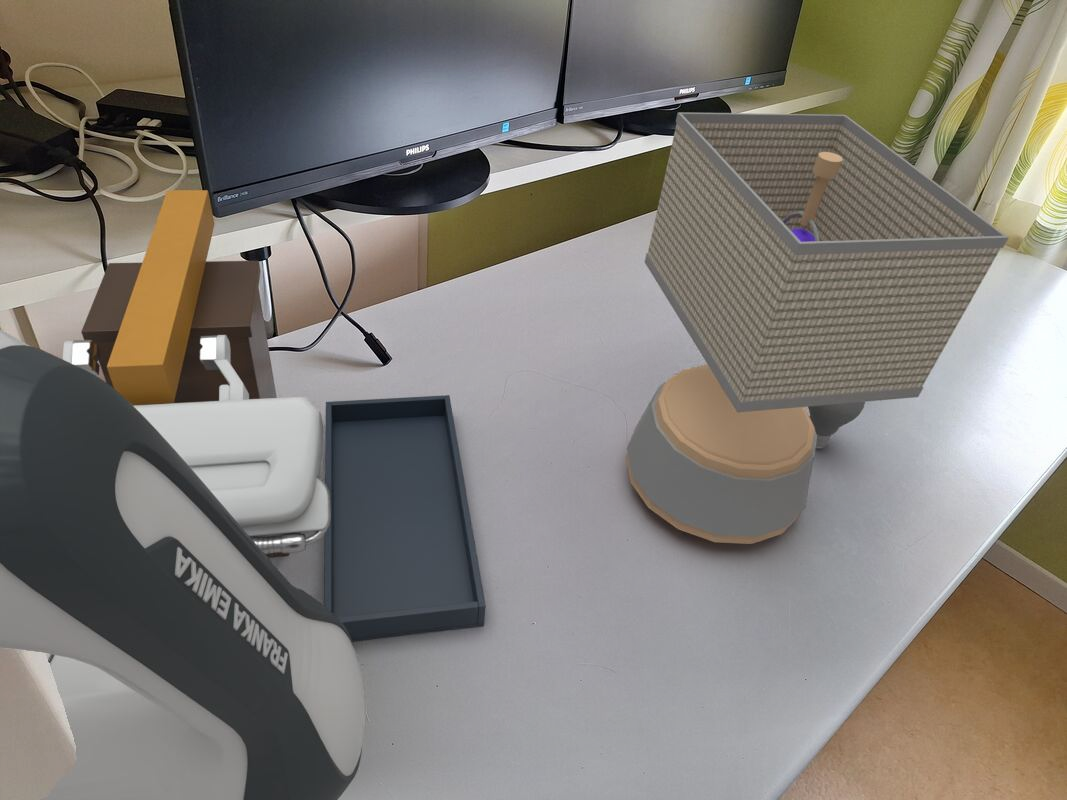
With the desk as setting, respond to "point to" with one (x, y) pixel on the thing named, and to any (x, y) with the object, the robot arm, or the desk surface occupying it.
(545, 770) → the desk surface
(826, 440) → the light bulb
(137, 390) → the bar
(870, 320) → the desk lamp
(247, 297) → the stand
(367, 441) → the tray
